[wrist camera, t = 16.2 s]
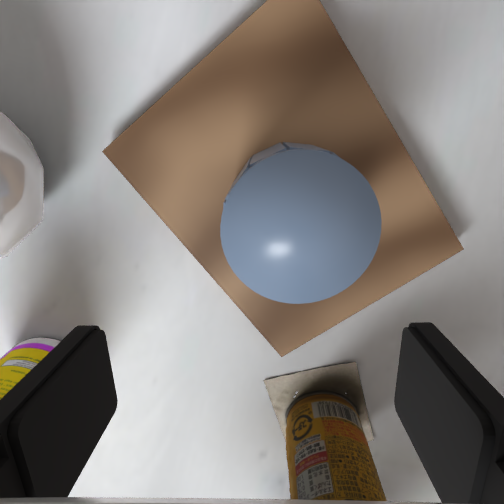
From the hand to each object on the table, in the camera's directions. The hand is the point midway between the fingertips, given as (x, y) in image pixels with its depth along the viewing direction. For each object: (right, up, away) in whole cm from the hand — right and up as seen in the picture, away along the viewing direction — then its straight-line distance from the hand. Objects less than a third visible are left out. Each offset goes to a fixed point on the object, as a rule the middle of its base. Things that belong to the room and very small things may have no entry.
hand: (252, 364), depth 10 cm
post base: (+2, +7, +11) cm, 13 cm away
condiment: (+6, -9, +17) cm, 20 cm away
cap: (+2, +6, +10) cm, 12 cm away
